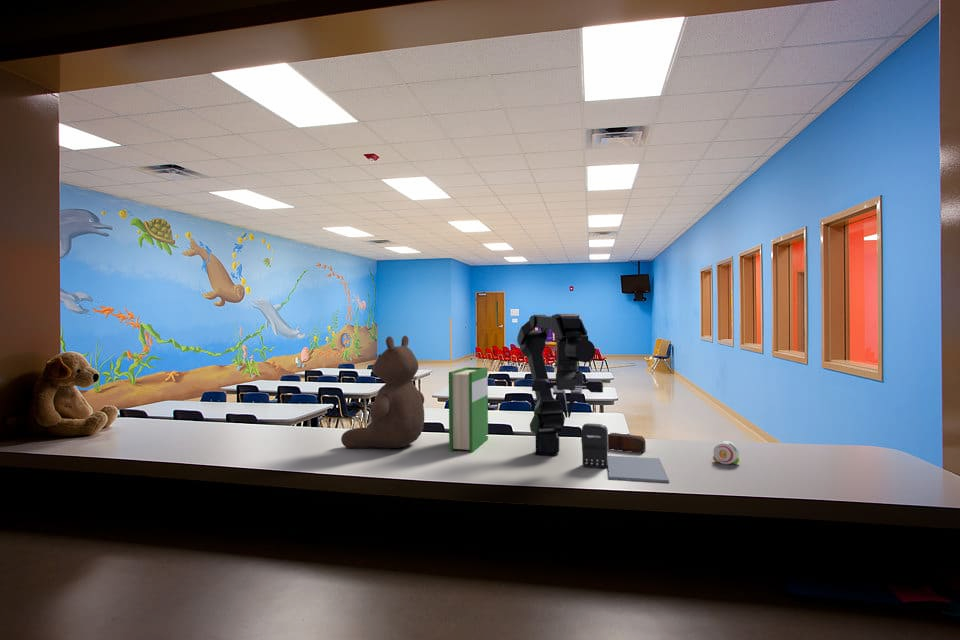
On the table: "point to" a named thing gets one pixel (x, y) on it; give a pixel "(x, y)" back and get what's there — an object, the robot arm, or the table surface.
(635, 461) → the mat
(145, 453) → the table surface
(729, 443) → the sushi roll
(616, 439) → the brick
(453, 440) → the hardback book
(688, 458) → the table surface
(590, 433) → the battery charger
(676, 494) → the table surface
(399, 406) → the stuffed bear
